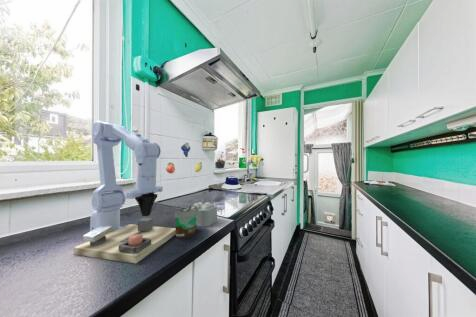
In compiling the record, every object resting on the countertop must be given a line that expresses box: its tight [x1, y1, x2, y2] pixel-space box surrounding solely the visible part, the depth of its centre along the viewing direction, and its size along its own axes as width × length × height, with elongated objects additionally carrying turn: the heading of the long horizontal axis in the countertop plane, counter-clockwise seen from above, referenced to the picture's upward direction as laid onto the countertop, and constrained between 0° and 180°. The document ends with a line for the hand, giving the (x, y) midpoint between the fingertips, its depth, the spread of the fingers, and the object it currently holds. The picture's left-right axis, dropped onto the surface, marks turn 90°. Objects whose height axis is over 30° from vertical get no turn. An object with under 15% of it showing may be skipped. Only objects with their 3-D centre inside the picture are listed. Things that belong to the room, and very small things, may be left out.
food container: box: [173, 204, 199, 239], centre depth 65 cm, size 12×6×10 cm, turn 168°
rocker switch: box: [82, 225, 113, 242], centre depth 53 cm, size 4×6×2 cm, turn 168°
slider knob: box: [137, 217, 154, 231], centre depth 63 cm, size 4×3×4 cm
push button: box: [128, 234, 143, 247], centre depth 50 cm, size 4×4×3 cm
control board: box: [72, 223, 176, 264], centre depth 57 cm, size 22×20×4 cm
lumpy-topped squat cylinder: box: [193, 201, 218, 227], centre depth 79 cm, size 10×13×9 cm
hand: (145, 215), depth 58 cm, fingers closed
